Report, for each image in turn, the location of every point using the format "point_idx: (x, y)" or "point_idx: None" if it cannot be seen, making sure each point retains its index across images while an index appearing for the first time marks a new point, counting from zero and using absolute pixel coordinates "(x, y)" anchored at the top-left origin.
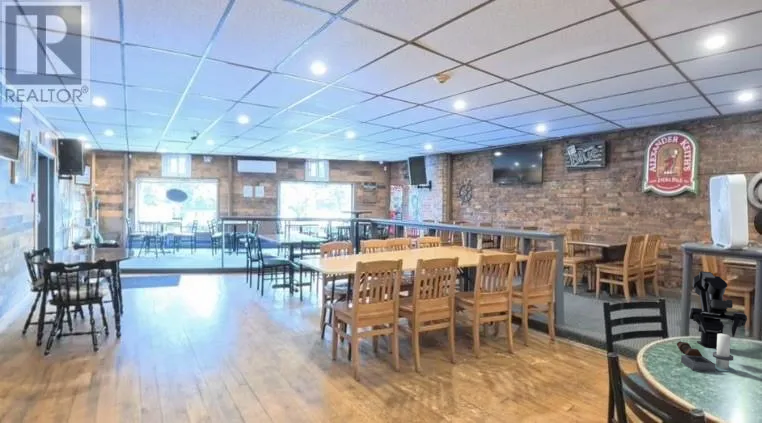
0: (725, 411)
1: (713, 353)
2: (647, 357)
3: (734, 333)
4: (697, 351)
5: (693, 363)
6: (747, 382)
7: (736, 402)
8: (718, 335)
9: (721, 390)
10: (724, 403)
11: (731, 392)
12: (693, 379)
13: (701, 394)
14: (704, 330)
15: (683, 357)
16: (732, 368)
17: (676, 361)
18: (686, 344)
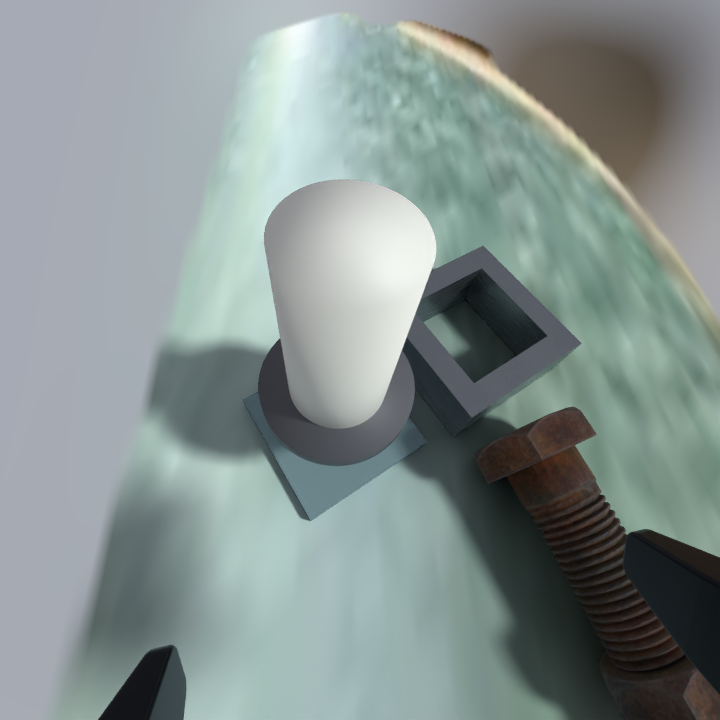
0: (326, 33)
1: (407, 372)
2: (702, 330)
3: (119, 701)
4: (523, 426)
5: (480, 248)
6: (219, 273)
7: (293, 84)
8: (414, 211)
9: (336, 140)
10: (327, 66)
11: (302, 140)
12: (439, 181)
13: (393, 88)
14: (673, 541)
15: (556, 325)
16: (271, 442)
17: (575, 367)
18: (683, 665)
